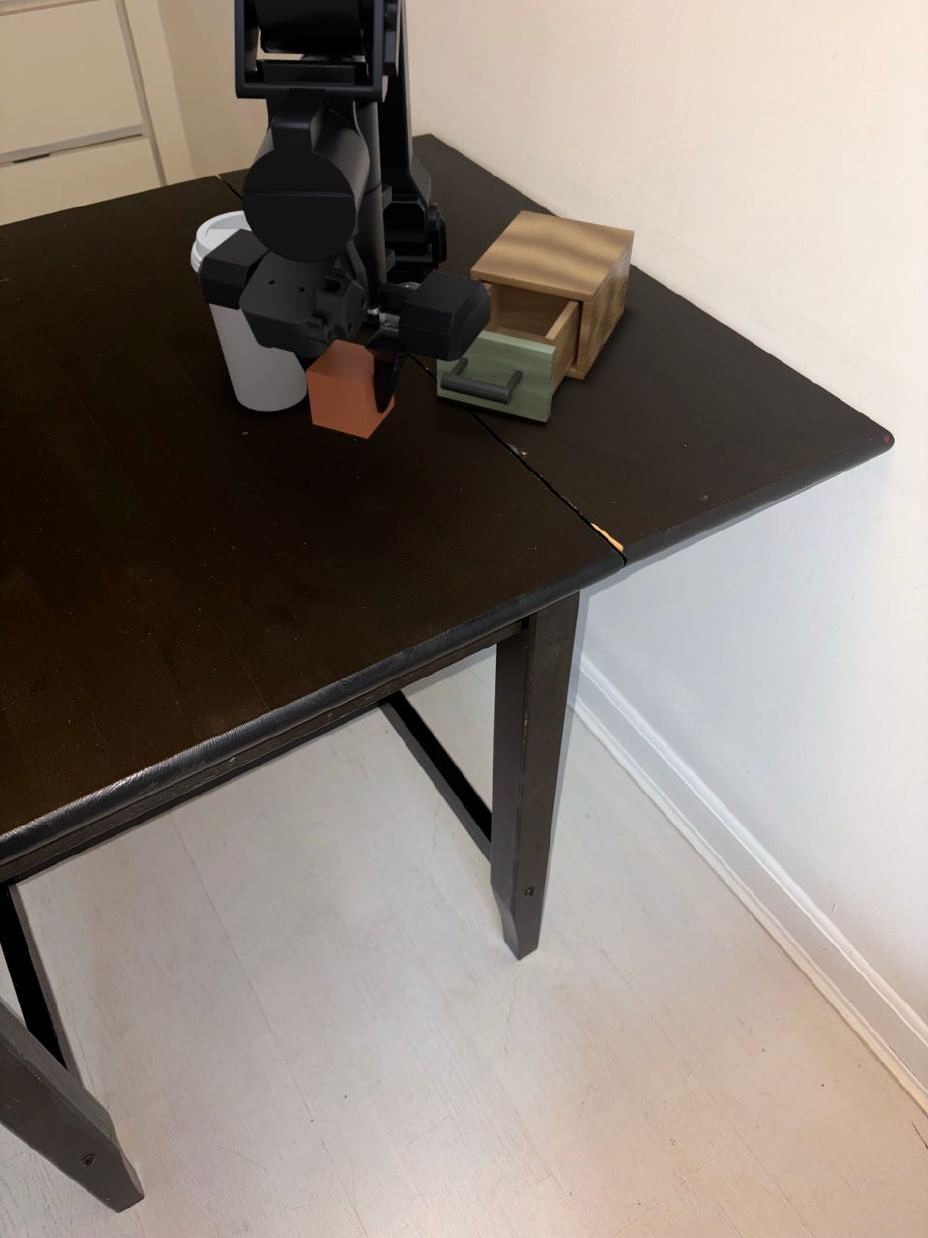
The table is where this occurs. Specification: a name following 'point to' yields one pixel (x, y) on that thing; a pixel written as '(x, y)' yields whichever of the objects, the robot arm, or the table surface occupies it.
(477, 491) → the table surface
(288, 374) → the coffee cup
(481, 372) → the drawer
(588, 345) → the cabinet
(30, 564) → the table surface
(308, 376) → the block
